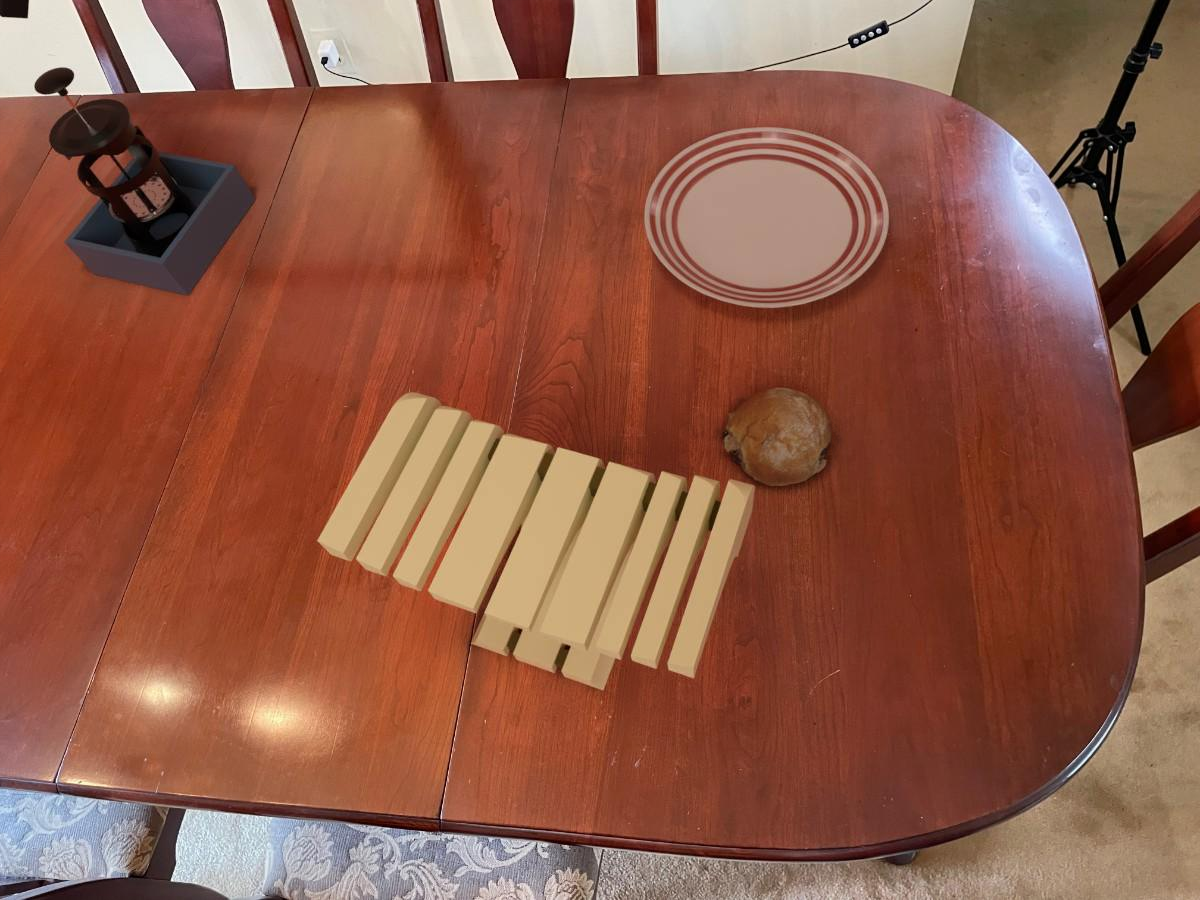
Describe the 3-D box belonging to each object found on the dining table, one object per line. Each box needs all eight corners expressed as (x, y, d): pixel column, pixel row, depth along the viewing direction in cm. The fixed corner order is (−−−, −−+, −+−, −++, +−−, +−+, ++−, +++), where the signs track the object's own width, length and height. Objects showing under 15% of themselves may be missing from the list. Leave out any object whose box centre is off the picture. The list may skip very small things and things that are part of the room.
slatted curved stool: (746, 557, 79) (757, 468, 64) (695, 723, 72) (693, 667, 57) (461, 473, 87) (410, 375, 72) (391, 615, 80) (317, 540, 65)
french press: (198, 263, 105) (80, 106, 85) (126, 270, 106) (-8, 117, 86) (216, 194, 111) (110, 33, 91) (148, 202, 111) (27, 43, 92)
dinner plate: (916, 180, 100) (923, 158, 97) (835, 354, 89) (840, 335, 86) (703, 125, 109) (703, 103, 106) (605, 278, 98) (602, 258, 95)
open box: (93, 274, 107) (63, 242, 102) (165, 182, 114) (140, 147, 109) (188, 296, 103) (162, 263, 98) (256, 199, 111) (235, 164, 106)
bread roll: (793, 512, 85) (838, 487, 78) (703, 469, 83) (741, 441, 76) (814, 429, 89) (858, 399, 82) (729, 388, 88) (766, 353, 81)
